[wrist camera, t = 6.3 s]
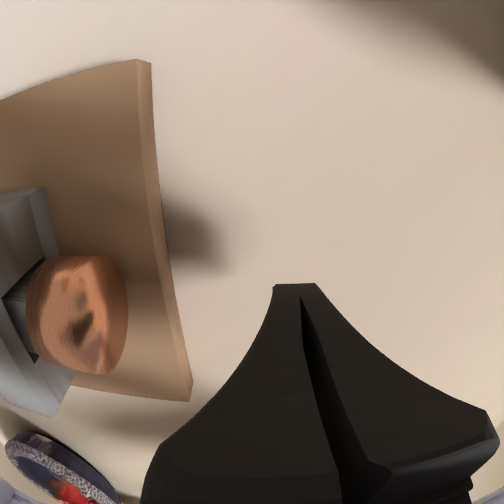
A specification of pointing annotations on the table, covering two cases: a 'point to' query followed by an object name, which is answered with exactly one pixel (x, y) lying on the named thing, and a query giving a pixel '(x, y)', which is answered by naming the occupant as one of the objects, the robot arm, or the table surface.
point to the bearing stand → (89, 226)
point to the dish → (58, 471)
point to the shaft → (72, 312)
